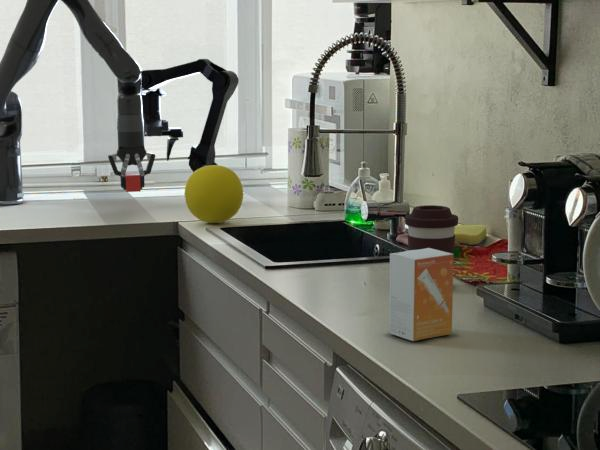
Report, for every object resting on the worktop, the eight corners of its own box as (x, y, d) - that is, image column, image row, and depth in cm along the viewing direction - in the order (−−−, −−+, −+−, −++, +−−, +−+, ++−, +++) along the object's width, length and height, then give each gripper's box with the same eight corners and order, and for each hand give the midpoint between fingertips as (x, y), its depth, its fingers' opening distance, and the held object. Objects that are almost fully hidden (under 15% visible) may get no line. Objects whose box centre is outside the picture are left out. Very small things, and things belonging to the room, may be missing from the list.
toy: (233, 216, 283) (232, 161, 280) (250, 224, 269) (249, 166, 266) (179, 219, 278) (177, 163, 275) (194, 228, 264) (192, 169, 261)
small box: (413, 342, 160) (414, 259, 158) (387, 333, 165) (388, 252, 163) (453, 334, 164) (454, 253, 162) (427, 325, 170) (428, 246, 168)
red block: (126, 191, 299) (125, 175, 298) (125, 189, 303) (124, 174, 303) (140, 191, 300) (140, 175, 299) (139, 189, 304) (138, 173, 303)
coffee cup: (400, 280, 202) (400, 204, 200) (450, 279, 203) (451, 203, 201) (409, 292, 193) (410, 212, 190) (462, 291, 193) (463, 211, 191)
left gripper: (106, 131, 293) (108, 192, 296) (157, 130, 297) (159, 190, 300) (104, 129, 301) (107, 188, 303) (154, 128, 304) (156, 186, 307)
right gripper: (122, 113, 313) (124, 164, 316) (184, 111, 318) (186, 162, 320) (119, 111, 324) (121, 161, 326) (179, 109, 328) (181, 159, 331)
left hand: (132, 189), depth 302 cm, fingers closed on red block, 4 cm apart
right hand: (152, 161), depth 326 cm, fingers open, 9 cm apart
